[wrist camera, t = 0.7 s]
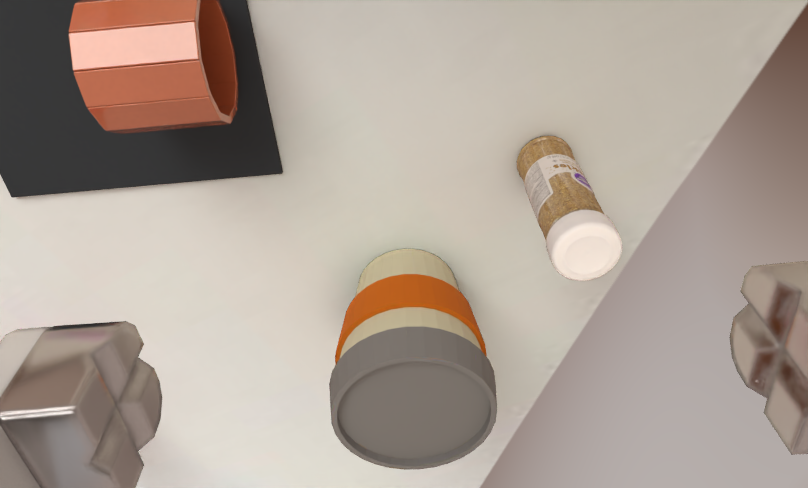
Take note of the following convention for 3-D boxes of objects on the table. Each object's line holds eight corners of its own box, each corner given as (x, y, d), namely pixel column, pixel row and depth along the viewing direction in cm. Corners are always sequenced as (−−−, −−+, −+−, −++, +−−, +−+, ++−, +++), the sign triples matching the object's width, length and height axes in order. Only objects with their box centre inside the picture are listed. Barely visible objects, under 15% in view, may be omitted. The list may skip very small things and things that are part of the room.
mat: (-137, -113, 40) (-141, -113, 39) (215, -148, 39) (214, -148, 39) (13, 195, 52) (11, 197, 52) (282, 171, 51) (282, 173, 51)
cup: (105, -17, 43) (51, 17, 36) (216, -27, 43) (184, 4, 36) (144, 104, 47) (104, 154, 40) (244, 94, 47) (221, 144, 40)
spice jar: (581, 144, 51) (638, 237, 40) (554, 191, 53) (600, 291, 42) (531, 125, 50) (574, 215, 39) (505, 174, 52) (539, 272, 41)
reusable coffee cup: (309, 281, 58) (290, 410, 45) (419, 205, 54) (431, 324, 41) (396, 359, 63) (400, 492, 51) (501, 295, 59) (533, 423, 47)
